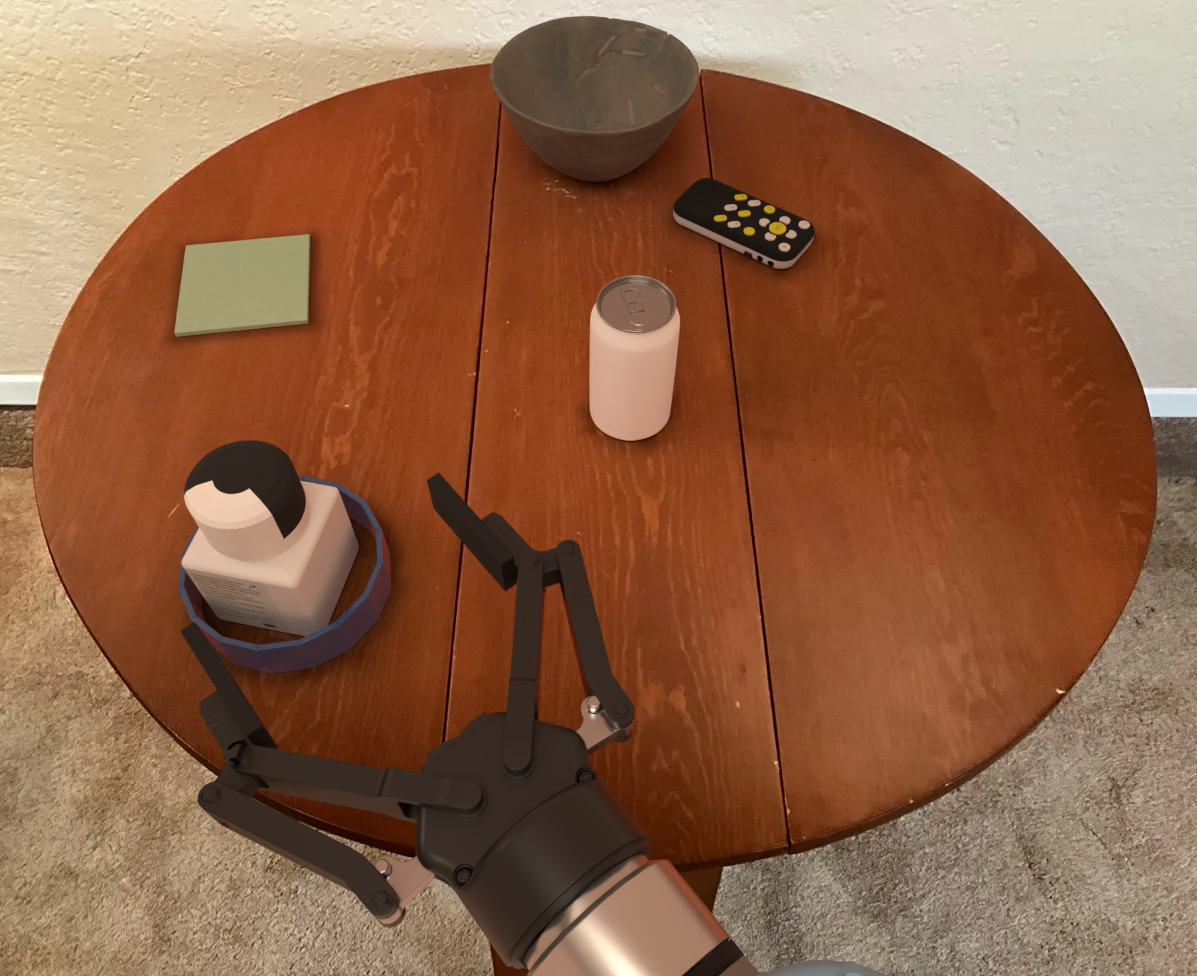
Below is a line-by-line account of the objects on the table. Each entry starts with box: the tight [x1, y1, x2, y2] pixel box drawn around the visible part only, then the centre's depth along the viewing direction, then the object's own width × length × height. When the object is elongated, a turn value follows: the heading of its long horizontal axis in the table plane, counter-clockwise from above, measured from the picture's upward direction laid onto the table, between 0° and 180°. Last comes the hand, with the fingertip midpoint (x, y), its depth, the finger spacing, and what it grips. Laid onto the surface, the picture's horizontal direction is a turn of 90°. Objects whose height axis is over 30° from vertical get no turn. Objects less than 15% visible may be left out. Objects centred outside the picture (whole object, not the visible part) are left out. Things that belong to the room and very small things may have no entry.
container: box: [180, 439, 360, 637], centre depth 63 cm, size 8×8×13 cm
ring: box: [177, 475, 393, 675], centre depth 67 cm, size 13×13×4 cm
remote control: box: [672, 177, 816, 270], centre depth 89 cm, size 6×13×2 cm, turn 55°
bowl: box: [489, 15, 700, 183], centre depth 91 cm, size 19×19×10 cm
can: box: [589, 274, 681, 442], centre depth 72 cm, size 6×6×12 cm
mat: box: [174, 233, 312, 338], centre depth 85 cm, size 11×11×1 cm
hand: (322, 560), depth 48 cm, fingers open, 13 cm apart
